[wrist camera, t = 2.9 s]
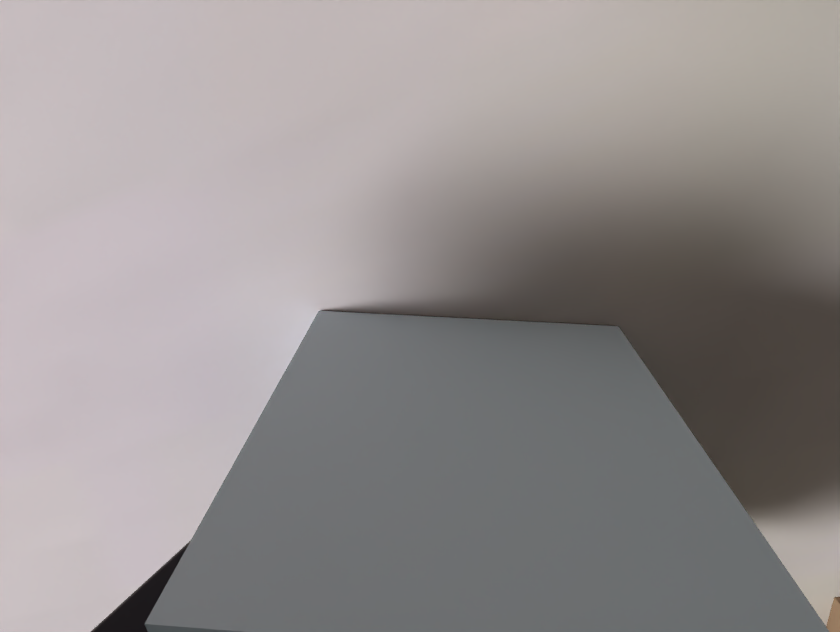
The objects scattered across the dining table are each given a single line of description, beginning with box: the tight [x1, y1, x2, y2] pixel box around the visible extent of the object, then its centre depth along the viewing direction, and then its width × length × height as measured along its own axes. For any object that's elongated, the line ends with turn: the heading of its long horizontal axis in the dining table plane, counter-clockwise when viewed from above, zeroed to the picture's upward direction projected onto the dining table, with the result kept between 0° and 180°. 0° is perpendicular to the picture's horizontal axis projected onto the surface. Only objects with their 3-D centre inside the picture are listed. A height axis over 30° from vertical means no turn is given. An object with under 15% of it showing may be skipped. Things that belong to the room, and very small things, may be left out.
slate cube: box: [145, 311, 829, 632], centre depth 7 cm, size 5×5×5 cm
